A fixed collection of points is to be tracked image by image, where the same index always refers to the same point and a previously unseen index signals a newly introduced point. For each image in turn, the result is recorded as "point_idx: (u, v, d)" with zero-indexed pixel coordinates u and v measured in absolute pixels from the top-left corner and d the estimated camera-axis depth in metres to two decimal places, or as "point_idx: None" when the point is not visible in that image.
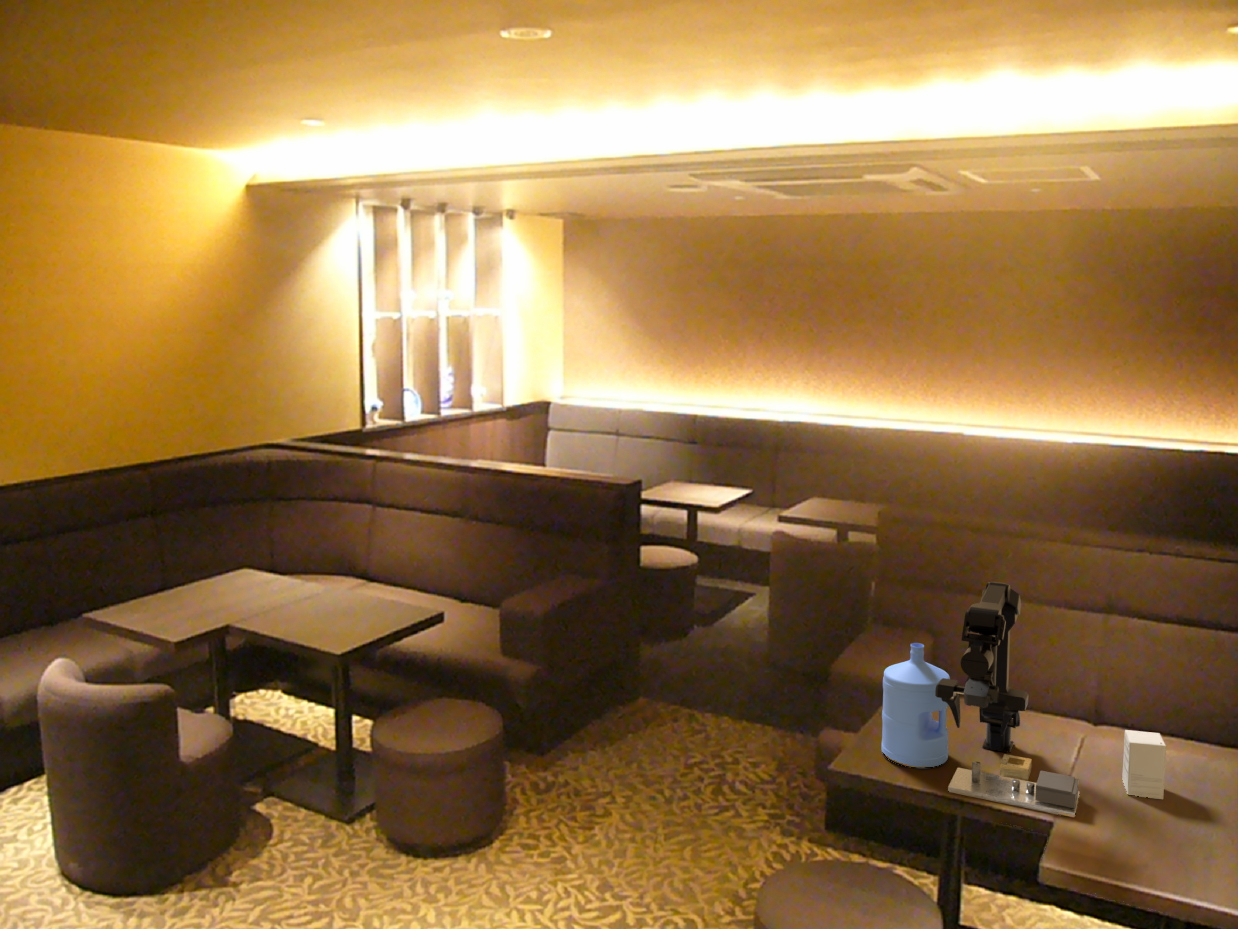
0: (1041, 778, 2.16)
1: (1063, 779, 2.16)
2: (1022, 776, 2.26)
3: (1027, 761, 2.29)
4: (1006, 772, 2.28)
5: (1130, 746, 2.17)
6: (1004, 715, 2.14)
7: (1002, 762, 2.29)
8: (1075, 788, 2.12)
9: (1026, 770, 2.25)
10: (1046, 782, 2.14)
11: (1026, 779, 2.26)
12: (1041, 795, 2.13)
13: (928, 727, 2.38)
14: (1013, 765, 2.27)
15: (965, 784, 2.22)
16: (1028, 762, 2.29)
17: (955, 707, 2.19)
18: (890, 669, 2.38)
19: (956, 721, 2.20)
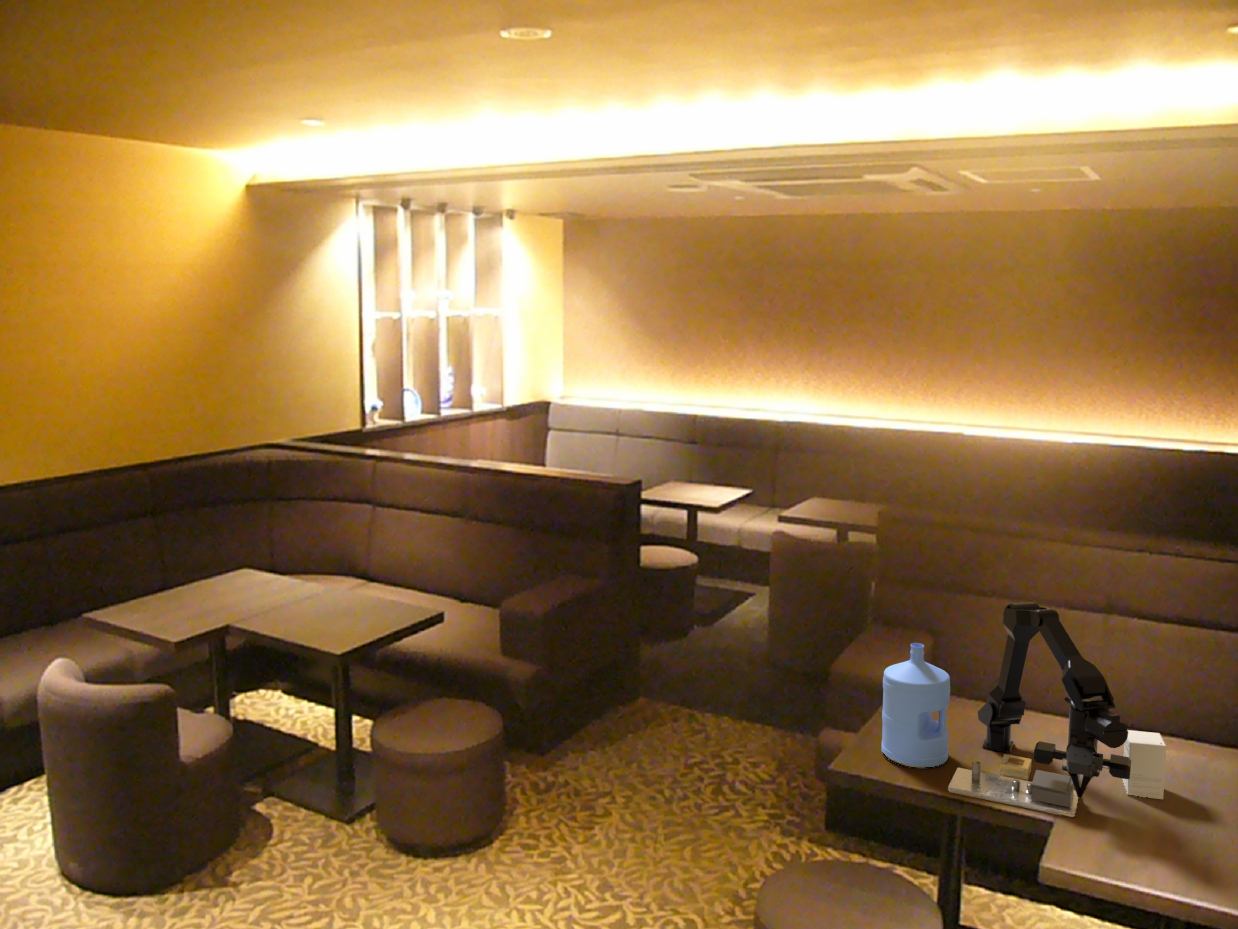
0: (1036, 777, 2.17)
1: (1058, 778, 2.16)
2: (1022, 776, 2.26)
3: (1027, 761, 2.29)
4: (1006, 772, 2.28)
5: (1130, 746, 2.17)
6: (1084, 778, 2.11)
7: (1002, 762, 2.29)
8: (1070, 787, 2.12)
9: (1026, 770, 2.25)
10: (1041, 781, 2.15)
11: (1026, 779, 2.26)
12: (1037, 794, 2.13)
13: (928, 727, 2.38)
14: (1013, 765, 2.27)
15: (965, 784, 2.22)
16: (1028, 762, 2.29)
17: (1076, 776, 2.11)
18: (890, 669, 2.38)
19: (1077, 791, 2.12)
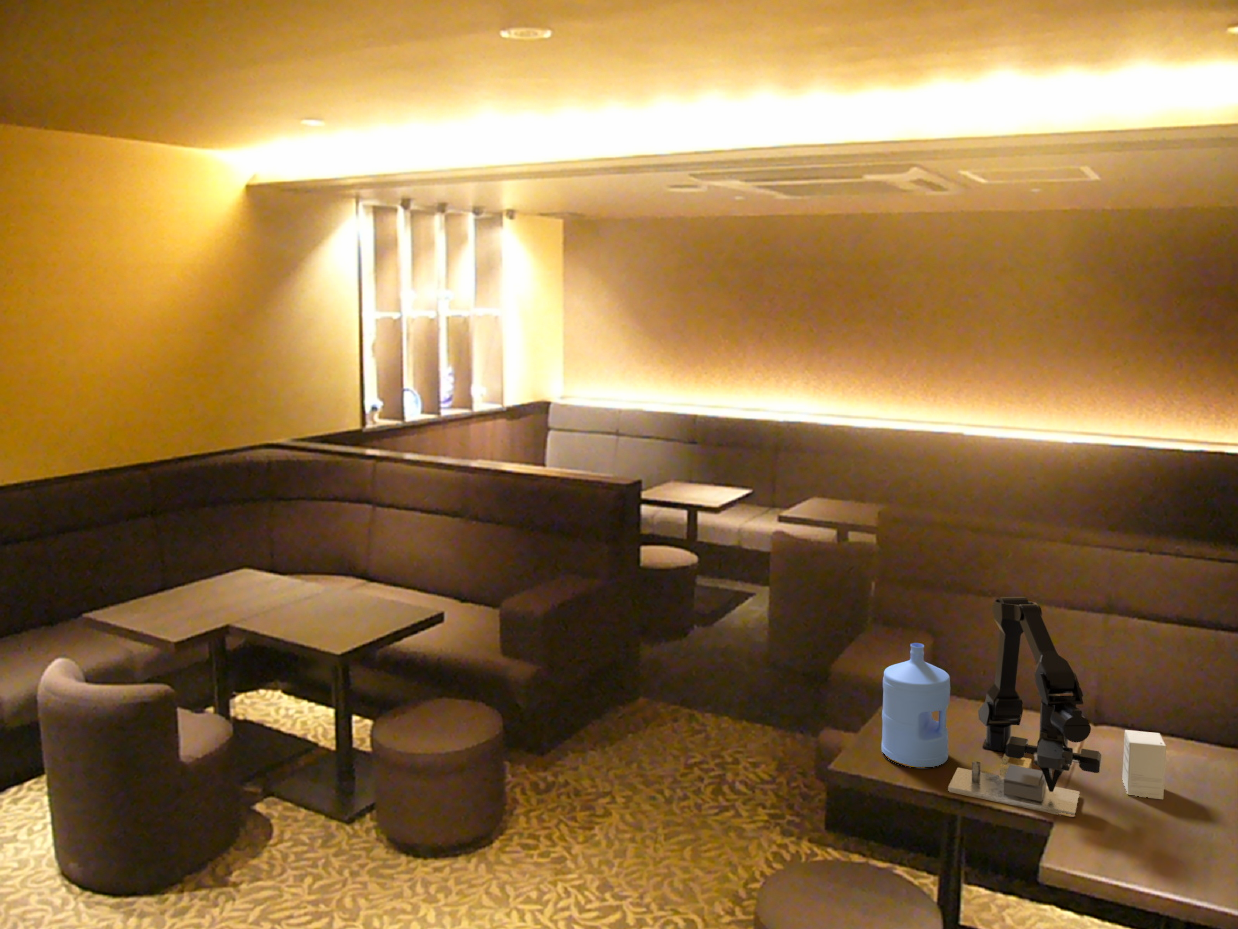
0: (1009, 772, 2.19)
1: (1031, 773, 2.19)
2: None
3: (1027, 761, 2.29)
4: (1006, 772, 2.28)
5: (1130, 746, 2.17)
6: (1054, 772, 2.13)
7: (1002, 762, 2.29)
8: (1042, 782, 2.15)
9: None
10: (1014, 776, 2.18)
11: None
12: (1009, 789, 2.16)
13: (928, 727, 2.38)
14: None
15: (965, 784, 2.22)
16: (1028, 762, 2.29)
17: (1048, 771, 2.14)
18: (890, 669, 2.38)
19: (1048, 785, 2.15)
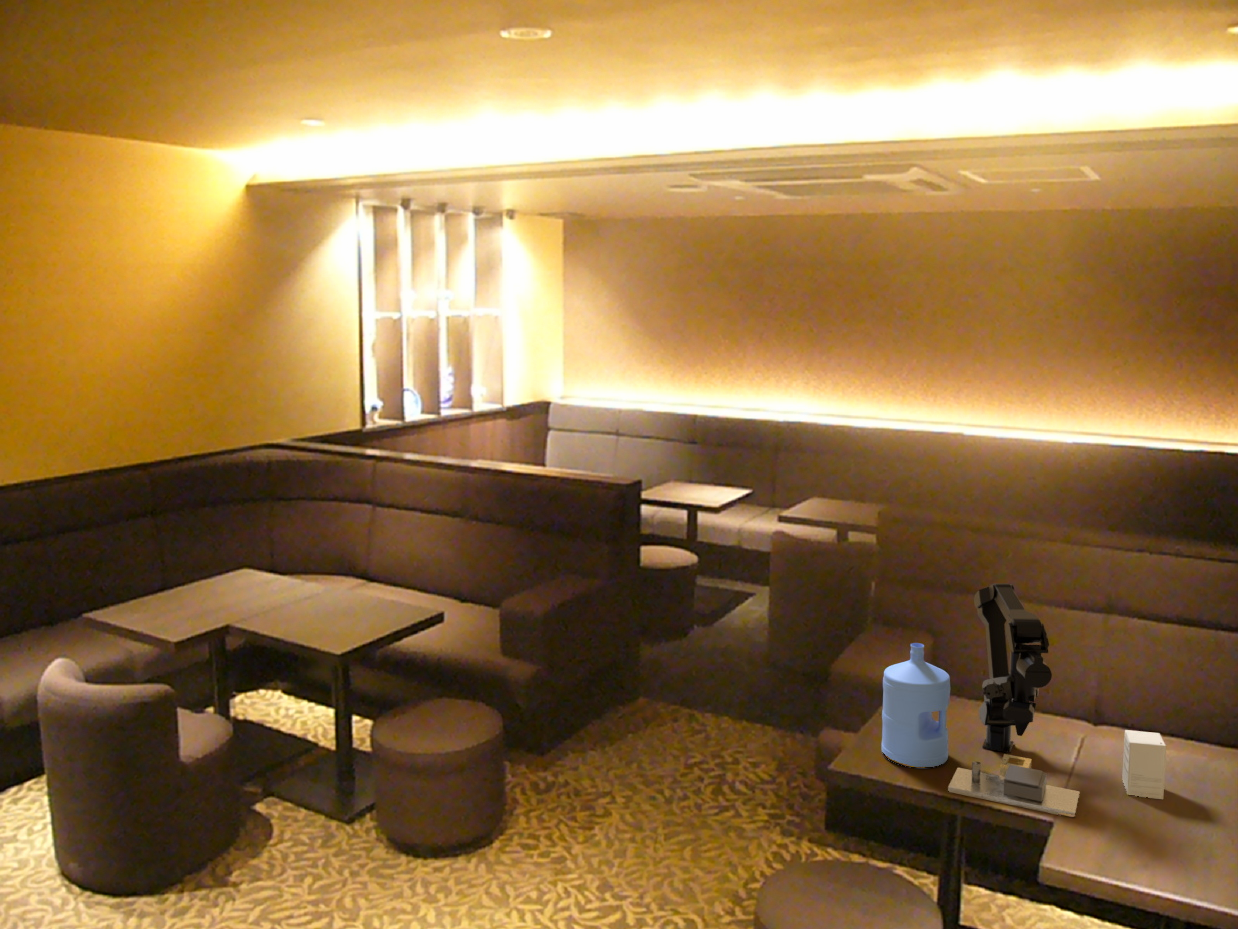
0: (1009, 772, 2.19)
1: (1031, 773, 2.19)
2: None
3: (1027, 761, 2.29)
4: (1006, 772, 2.28)
5: (1130, 746, 2.17)
6: None
7: (1002, 762, 2.29)
8: (1042, 782, 2.15)
9: None
10: (1014, 776, 2.18)
11: None
12: (1009, 789, 2.16)
13: (928, 727, 2.38)
14: None
15: (965, 784, 2.22)
16: (1028, 762, 2.29)
17: None
18: (890, 669, 2.38)
19: None
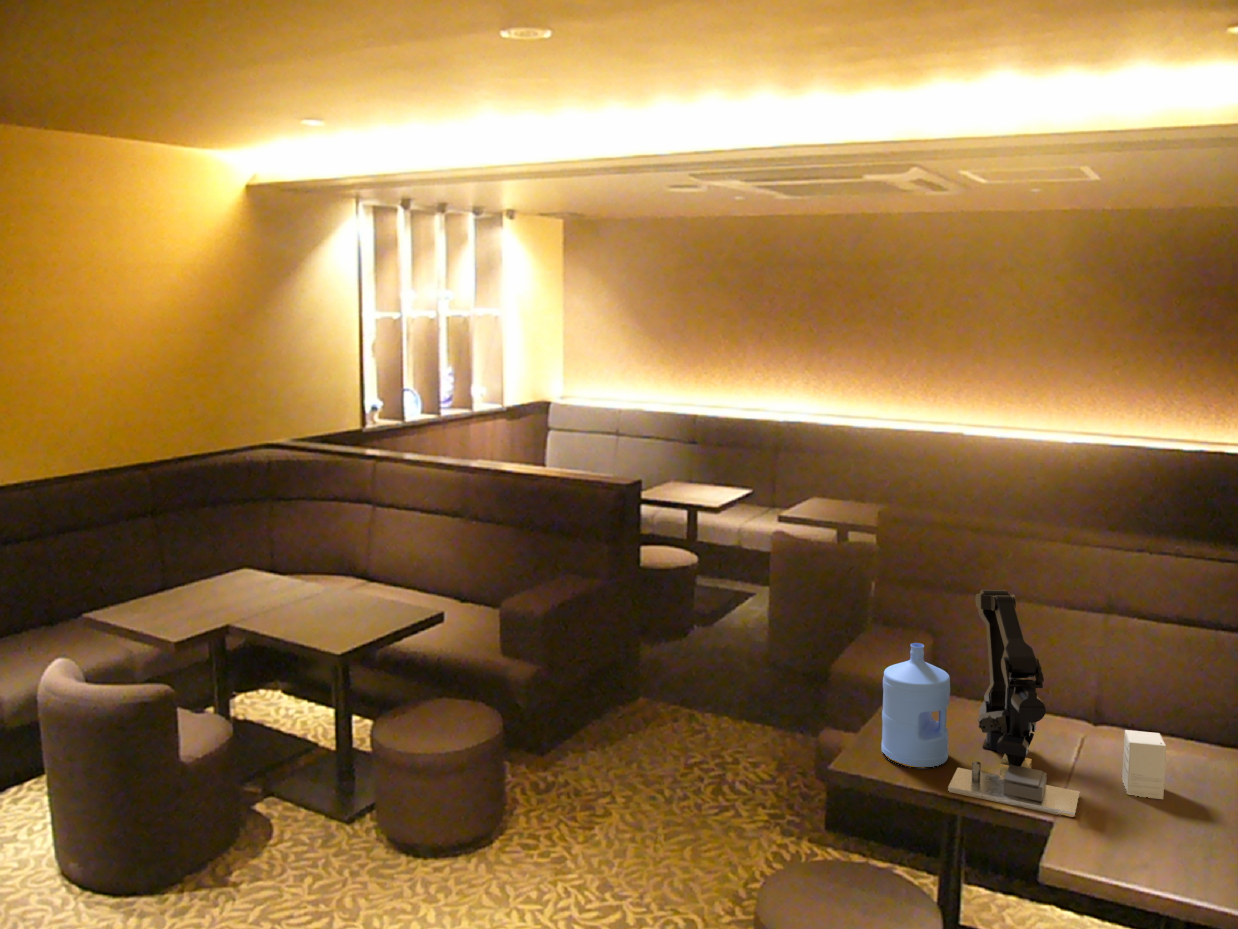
0: (1009, 772, 2.19)
1: (1031, 773, 2.19)
2: None
3: (1027, 761, 2.29)
4: (1006, 772, 2.28)
5: (1130, 746, 2.17)
6: None
7: (1002, 762, 2.29)
8: (1042, 782, 2.15)
9: None
10: (1014, 776, 2.18)
11: None
12: (1009, 789, 2.16)
13: (928, 727, 2.38)
14: None
15: (965, 784, 2.22)
16: (1028, 762, 2.29)
17: None
18: (890, 669, 2.38)
19: None
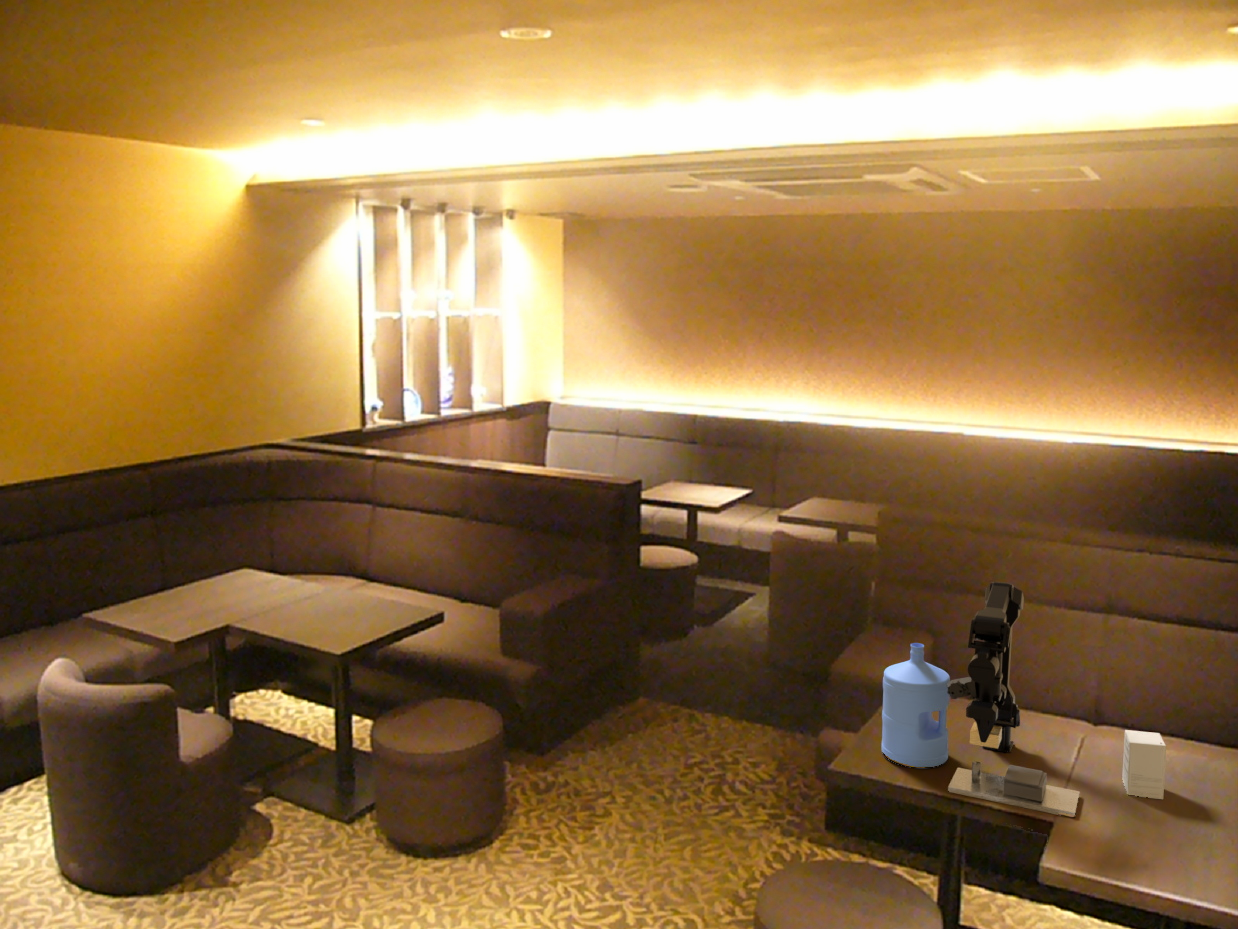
0: (1009, 772, 2.19)
1: (1031, 773, 2.19)
2: (992, 743, 2.19)
3: (998, 728, 2.23)
4: (976, 739, 2.21)
5: (1130, 746, 2.17)
6: None
7: (972, 729, 2.22)
8: (1042, 782, 2.15)
9: (996, 737, 2.18)
10: (1014, 776, 2.18)
11: (996, 746, 2.19)
12: (1009, 789, 2.16)
13: (928, 727, 2.38)
14: None
15: (965, 784, 2.22)
16: (998, 729, 2.22)
17: None
18: (890, 669, 2.38)
19: None
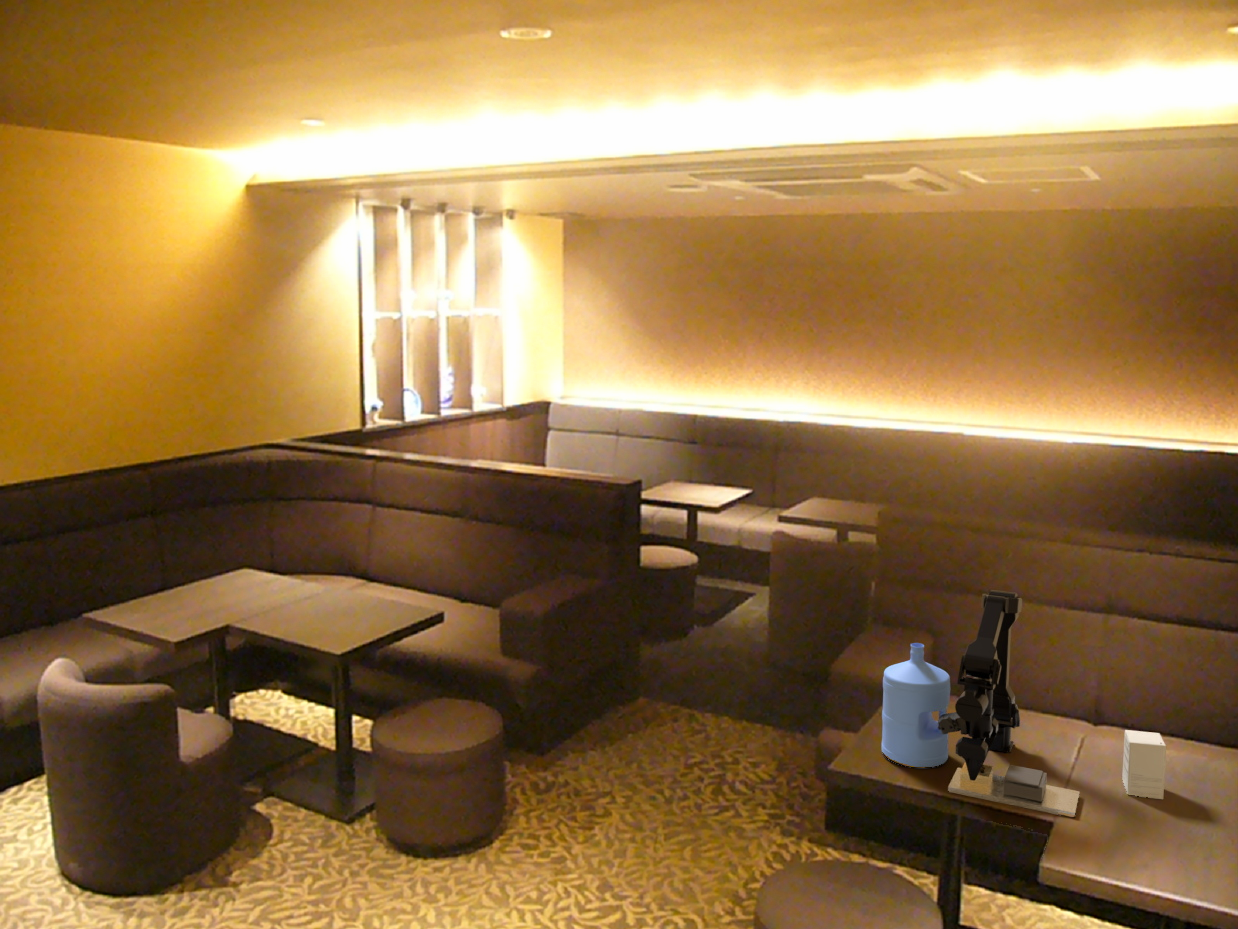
0: (1009, 772, 2.19)
1: (1031, 773, 2.19)
2: (982, 784, 2.20)
3: (988, 768, 2.23)
4: (966, 780, 2.21)
5: (1130, 746, 2.17)
6: None
7: (962, 770, 2.23)
8: (1042, 782, 2.15)
9: (986, 778, 2.19)
10: (1014, 776, 2.18)
11: (986, 787, 2.19)
12: (1009, 789, 2.16)
13: (928, 727, 2.38)
14: None
15: None
16: (989, 770, 2.22)
17: None
18: (890, 669, 2.38)
19: None
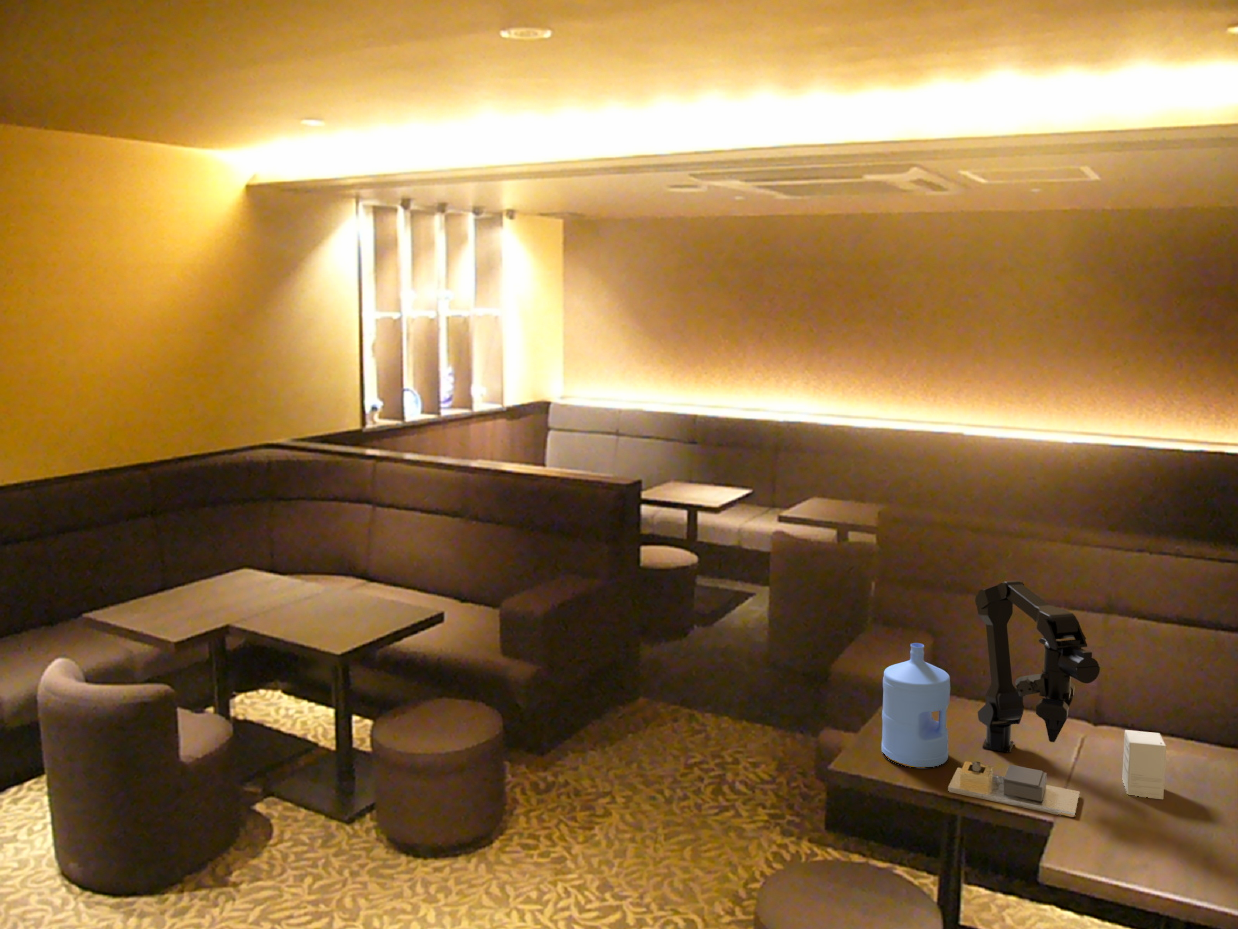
0: (1009, 772, 2.19)
1: (1031, 773, 2.19)
2: (982, 784, 2.20)
3: (988, 768, 2.23)
4: (966, 780, 2.21)
5: (1130, 746, 2.17)
6: None
7: (962, 770, 2.23)
8: (1042, 782, 2.15)
9: (986, 778, 2.19)
10: (1014, 776, 2.18)
11: (986, 787, 2.19)
12: (1009, 789, 2.16)
13: (928, 727, 2.38)
14: (973, 773, 2.21)
15: None
16: (989, 770, 2.22)
17: None
18: (890, 669, 2.38)
19: None
